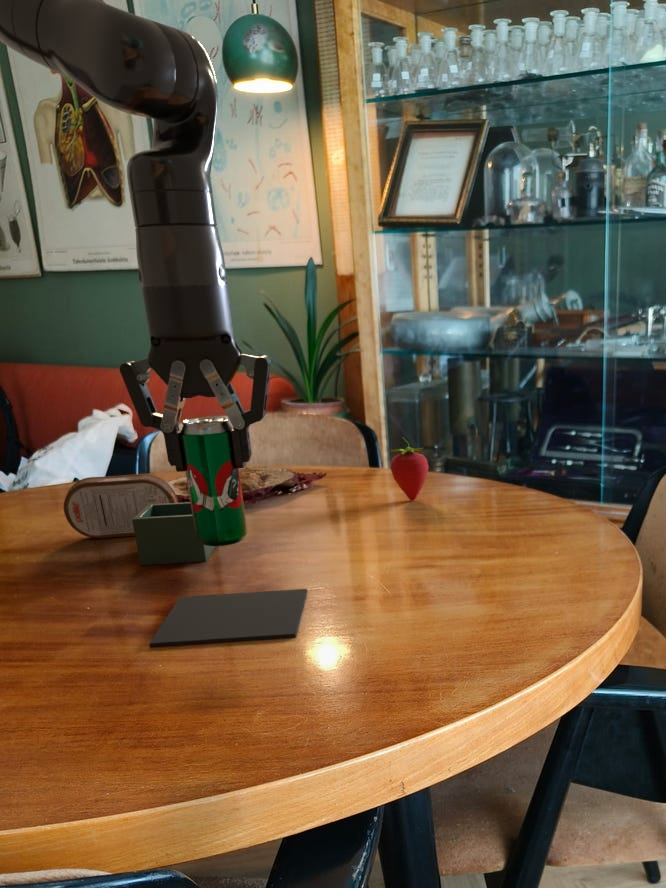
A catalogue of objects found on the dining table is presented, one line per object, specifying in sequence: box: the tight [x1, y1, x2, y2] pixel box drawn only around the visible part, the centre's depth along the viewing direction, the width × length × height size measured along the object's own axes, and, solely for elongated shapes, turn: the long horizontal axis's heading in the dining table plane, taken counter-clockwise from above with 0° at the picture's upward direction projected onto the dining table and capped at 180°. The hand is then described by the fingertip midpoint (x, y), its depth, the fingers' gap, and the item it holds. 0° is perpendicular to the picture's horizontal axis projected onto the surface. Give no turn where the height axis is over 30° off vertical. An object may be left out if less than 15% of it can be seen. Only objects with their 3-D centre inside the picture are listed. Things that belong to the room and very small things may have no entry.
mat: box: [148, 588, 308, 648], centre depth 92 cm, size 14×14×1 cm
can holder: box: [132, 501, 217, 566], centre depth 114 cm, size 8×8×6 cm
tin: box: [63, 473, 178, 539], centre depth 124 cm, size 15×3×8 cm, turn 102°
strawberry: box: [389, 436, 429, 502], centre depth 138 cm, size 6×8×10 cm
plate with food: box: [167, 466, 327, 505], centre depth 149 cm, size 24×26×3 cm
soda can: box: [180, 416, 248, 547], centre depth 87 cm, size 5×5×12 cm
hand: (211, 467), depth 87 cm, fingers closed on soda can, 5 cm apart
